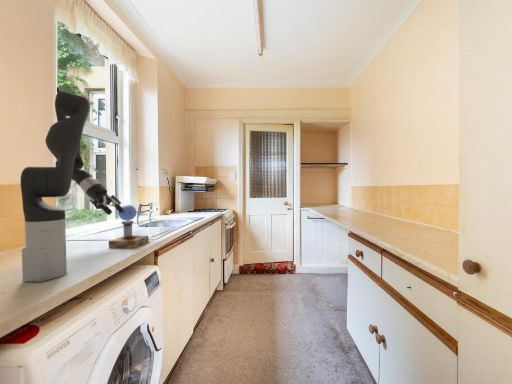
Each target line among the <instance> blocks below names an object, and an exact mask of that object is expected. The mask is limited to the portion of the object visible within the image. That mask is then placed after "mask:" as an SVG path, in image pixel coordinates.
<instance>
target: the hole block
mask: <svg viewBox="0 0 512 384" xmlns="http://www.w3.org/2000/svg"><path fill="white" fill-rule="evenodd" d="M148 241H150V239H149V235H132V239H124V235H123V236H119V237H116V238H113V239H111V240H108V248H109V249H110V248H111V249H115V248H116V249H136V248H138V247H140V246H142V245H144V243H145V244H146V242H147V243H149V242H148Z"/></svg>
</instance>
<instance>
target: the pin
mask: <svg viewBox="0 0 512 384" xmlns="http://www.w3.org/2000/svg"><path fill="white" fill-rule="evenodd" d="M133 224H134V220H129V221H126V220H122V221H121V225H123V228H122V229H123V236H124V239H132V236H133Z"/></svg>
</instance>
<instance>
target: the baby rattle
mask: <svg viewBox="0 0 512 384" xmlns="http://www.w3.org/2000/svg"><path fill="white" fill-rule="evenodd" d="M121 207H122V208H123V209H124V211H123V212H122V213H120V212H119V211H118V210H117V211H118V212H117V214H118V217H119V219H121V220H122V221H133V219H135V217H136V216H137V208H135V206H134V205H132V204H124V205H122V206H121Z"/></svg>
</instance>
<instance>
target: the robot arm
mask: <svg viewBox="0 0 512 384" xmlns="http://www.w3.org/2000/svg"><path fill="white" fill-rule="evenodd" d="M54 108H55V109H54V110H55V114H56V115H55V116H56V122H55V123H53V124H52V125H51V126H50V128H49V130H48V132H47V135H46V137H45V146H46V147H47V149H48V150H49V152H50V153H51V154H52V155H53V157H54V158H56V161H55V166H26V167H24V169H23V170H22V171H21V174H20V190H21V192H20V193H21V200H22V201H21V202H22V211H23V215H24V216H23V217H24V234H25V235H24V239H25V240H24V241H25V242H24V243H25V244H24V245H25V247H23V248H22V249H21V268H22V269H21V270H22V271H21V272H22V282H25V283H26V282H27V283H28V282H31V283H34V282H35V283H43V282H45V281H49V280H53V279H57V278H60V277H62V276H64V275H66V274H67V271H68V269H67V265H68V264H67V262H68V261H67V235H66V233H67V231H66V210H64V209H63V208H59V207H56V206H51V205H49V204H47V203H46V202H45V201H44V200H43V198H61V197H65V196H66V195H68V194H69V192H70V189H71V186H72V182H75V183H76V184H77V185H78V186H79V188H80V189H81V190H82V191H83V193H85V194H86V195H87V196H88V197H89V198H90V199H89V202H90V203H91V204H92V205H93V206H94V207H95V209H97V210H103V212H104V213H105V214H107V215H108V216H110V215H111V214H112V213H113V211H112V209H110V207H114V208H115V209H116V210H117V211H119V212H120V213H122V212H123V211H124V209H123V208H122V206H121V205H122V202H121V201H120V199H118V198H117V197H116V196H115V195H113V194H111V196H110V195H109V194H108V189H106V187H105V186H103V184H101V183H100V181H99V180H98V179H96V178H95V177H94V176H93V175H92V174H91V173H90V172H89V171H88V170H86V169H83V168H84V161H83V158H82V156H81V141H82V137H83V131H84V128H85V124H86V123H87V120H88V117H89V115H90V111H91V103H90V100H89V99H88V98H87V97H85V96H82V95H78V94H76V93H75V94H74V93H72V92H71V93H70V92H67V91H63V90H59V91H58V92H57V93H56V95H55V100H54ZM72 180H73V181H72ZM108 206H109V207H108Z"/></svg>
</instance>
